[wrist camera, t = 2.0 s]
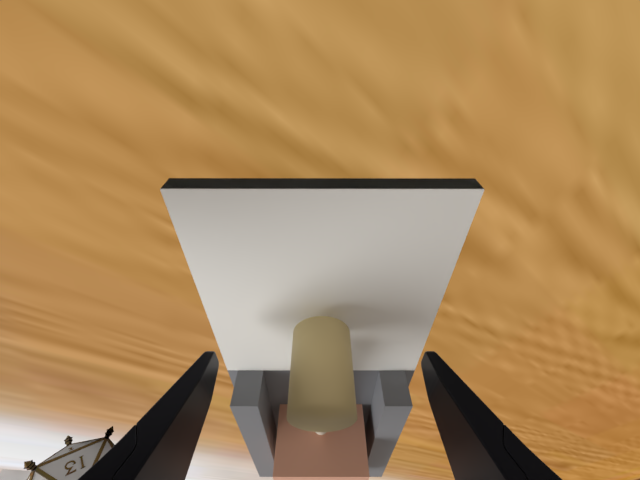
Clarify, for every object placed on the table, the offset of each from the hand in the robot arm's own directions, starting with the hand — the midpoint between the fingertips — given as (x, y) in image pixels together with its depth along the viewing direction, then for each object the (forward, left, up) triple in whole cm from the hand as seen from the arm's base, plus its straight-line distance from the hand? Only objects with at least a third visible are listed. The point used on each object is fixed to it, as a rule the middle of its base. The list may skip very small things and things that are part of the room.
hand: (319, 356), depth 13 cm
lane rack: (+5, 0, -3) cm, 6 cm away
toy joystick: (+7, 0, -2) cm, 7 cm away
